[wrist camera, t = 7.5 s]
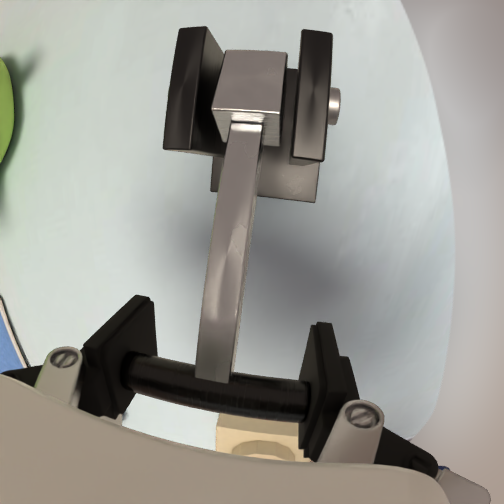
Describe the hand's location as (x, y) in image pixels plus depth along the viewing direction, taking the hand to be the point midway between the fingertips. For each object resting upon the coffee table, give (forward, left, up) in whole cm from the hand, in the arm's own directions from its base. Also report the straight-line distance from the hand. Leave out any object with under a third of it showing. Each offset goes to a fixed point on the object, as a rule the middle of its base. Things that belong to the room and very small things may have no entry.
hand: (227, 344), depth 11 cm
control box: (-3, +21, -11) cm, 24 cm away
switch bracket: (0, -9, -11) cm, 14 cm away
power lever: (0, -4, 0) cm, 4 cm away
